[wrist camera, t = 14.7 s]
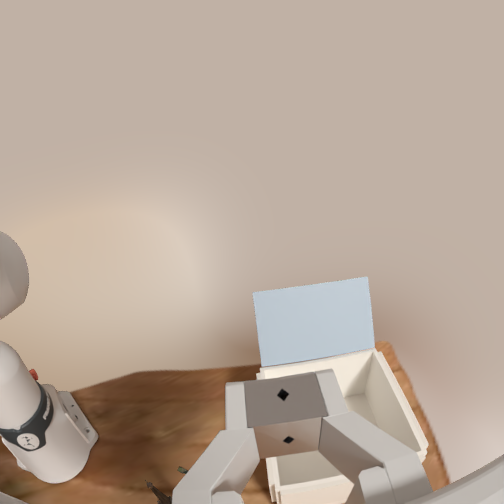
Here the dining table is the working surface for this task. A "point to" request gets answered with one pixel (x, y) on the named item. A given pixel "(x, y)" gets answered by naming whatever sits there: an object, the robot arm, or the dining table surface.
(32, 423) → the robot arm
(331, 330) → the lid flap
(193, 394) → the dining table surface
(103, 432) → the dining table surface
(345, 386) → the carton
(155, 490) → the eiffel tower figurine
